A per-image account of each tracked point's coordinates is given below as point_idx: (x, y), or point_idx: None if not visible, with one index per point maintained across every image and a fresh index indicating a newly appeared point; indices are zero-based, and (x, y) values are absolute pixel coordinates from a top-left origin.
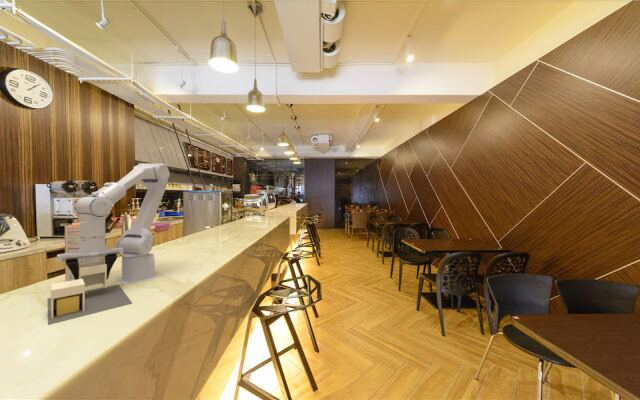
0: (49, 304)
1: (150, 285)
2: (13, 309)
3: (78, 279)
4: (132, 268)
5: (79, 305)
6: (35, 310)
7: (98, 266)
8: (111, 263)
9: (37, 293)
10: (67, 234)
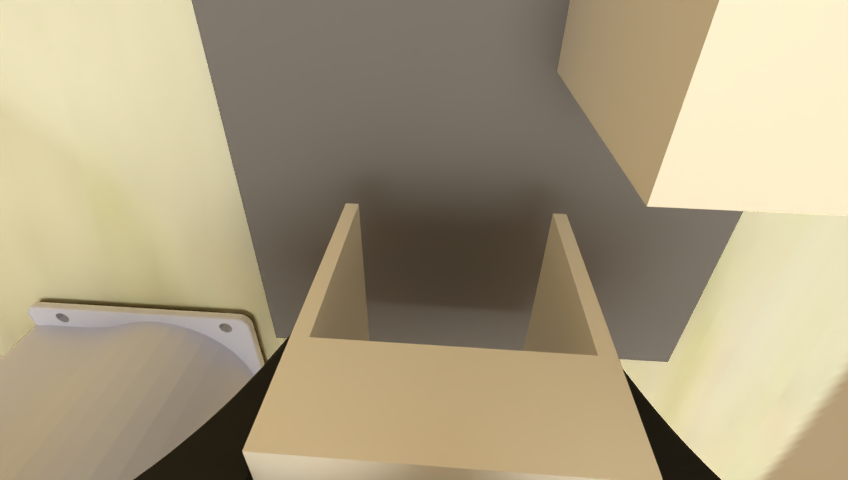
0: (715, 244)
1: (34, 175)
2: (841, 327)
3: (713, 197)
4: (116, 429)
5: None
6: (796, 217)
7: (373, 447)
8: (180, 474)
9: None
10: None
